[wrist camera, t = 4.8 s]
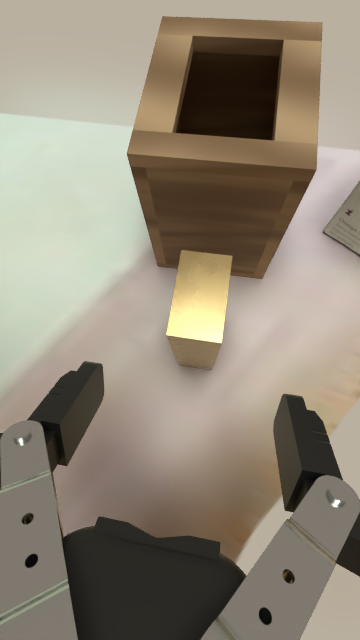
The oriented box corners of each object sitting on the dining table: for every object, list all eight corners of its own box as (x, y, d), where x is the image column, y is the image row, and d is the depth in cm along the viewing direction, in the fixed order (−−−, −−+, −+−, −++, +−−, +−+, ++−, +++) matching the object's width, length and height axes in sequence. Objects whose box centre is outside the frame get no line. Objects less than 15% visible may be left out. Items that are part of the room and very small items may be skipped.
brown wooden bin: (262, 278, 25) (316, 169, 14) (157, 265, 26) (126, 153, 15) (271, 181, 28) (322, 22, 16) (176, 172, 29) (162, 16, 17)
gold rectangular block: (213, 370, 23) (223, 343, 14) (177, 364, 24) (163, 334, 14) (220, 315, 24) (234, 256, 15) (186, 310, 25) (179, 249, 15)
